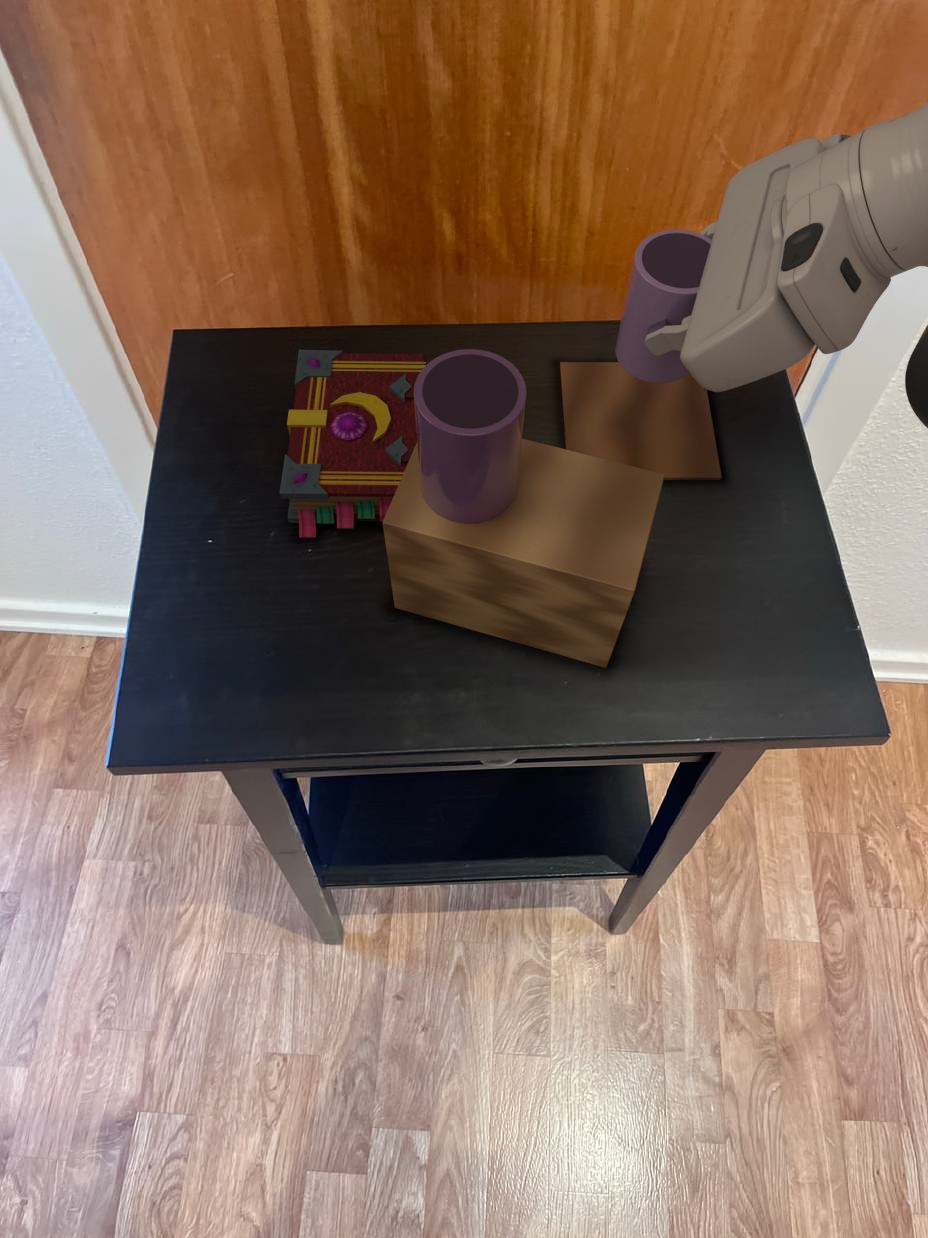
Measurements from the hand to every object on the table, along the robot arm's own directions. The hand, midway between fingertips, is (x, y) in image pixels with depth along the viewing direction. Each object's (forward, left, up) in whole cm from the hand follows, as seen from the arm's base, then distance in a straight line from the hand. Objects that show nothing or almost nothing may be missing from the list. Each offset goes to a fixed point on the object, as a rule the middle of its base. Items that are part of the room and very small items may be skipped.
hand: (661, 305), depth 65 cm
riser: (-5, +20, -12) cm, 24 cm away
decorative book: (+13, +20, -13) cm, 27 cm away
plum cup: (-1, +22, 0) cm, 22 cm away
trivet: (-1, 0, -12) cm, 12 cm away
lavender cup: (0, 0, -5) cm, 5 cm away
